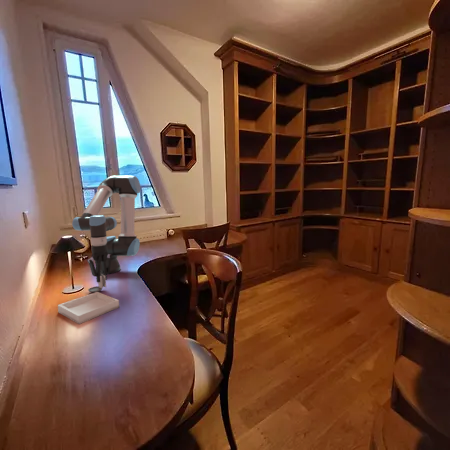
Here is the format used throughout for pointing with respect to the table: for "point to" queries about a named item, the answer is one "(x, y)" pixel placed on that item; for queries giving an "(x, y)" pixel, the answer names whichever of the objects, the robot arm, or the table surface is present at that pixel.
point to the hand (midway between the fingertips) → (102, 286)
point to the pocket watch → (96, 289)
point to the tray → (88, 307)
